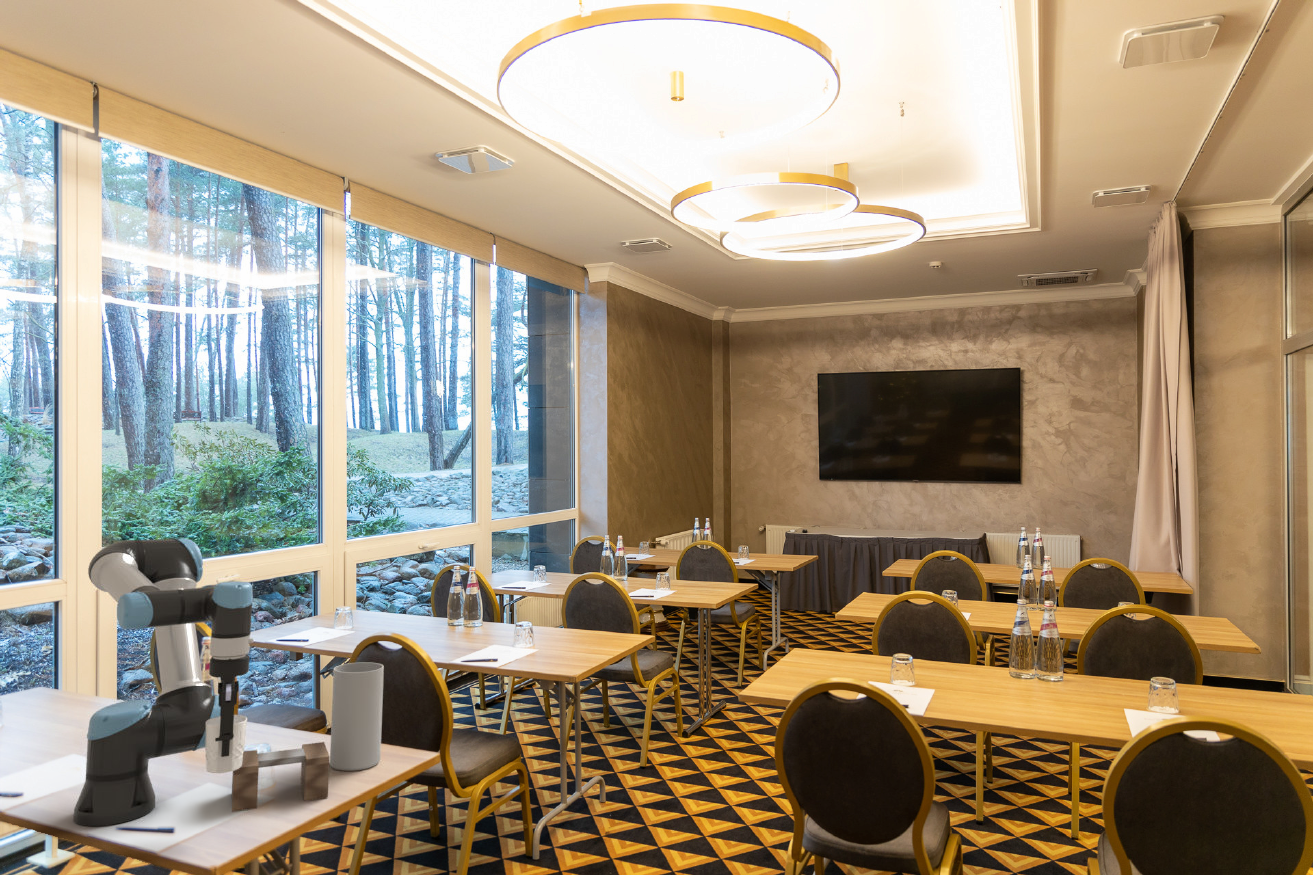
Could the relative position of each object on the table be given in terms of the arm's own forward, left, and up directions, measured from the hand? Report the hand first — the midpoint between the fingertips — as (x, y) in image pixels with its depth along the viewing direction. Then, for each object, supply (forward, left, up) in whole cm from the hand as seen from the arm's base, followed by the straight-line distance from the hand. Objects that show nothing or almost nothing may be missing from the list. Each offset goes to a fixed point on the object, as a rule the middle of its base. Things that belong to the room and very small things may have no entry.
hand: (224, 764), depth 175 cm
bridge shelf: (+12, +17, -14) cm, 25 cm away
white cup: (0, 0, -1) cm, 1 cm away
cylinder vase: (+31, +33, -14) cm, 47 cm away
